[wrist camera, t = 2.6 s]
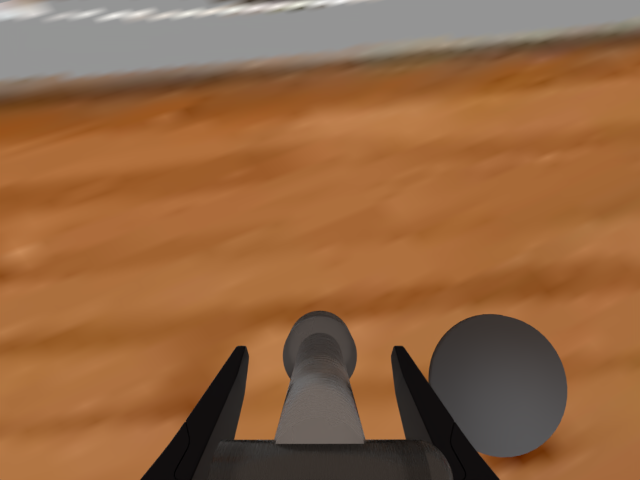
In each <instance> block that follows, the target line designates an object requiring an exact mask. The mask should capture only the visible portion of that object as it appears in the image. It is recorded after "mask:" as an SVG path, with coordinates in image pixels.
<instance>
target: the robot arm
mask: <svg viewBox="0 0 640 480" xmlns="http://www.w3.org/2000/svg"><path fill="white" fill-rule="evenodd" d="M248 364H249V354H248V350H247V347H246V346H237V347H236V348H235V349H234V351H233V352H232V354H231V355H230V356H229V358H228V359H227V361H226V362H225V364H224V365H223V367H222V368H221V370H220V371H219V372H218V374H217V375H216V377H215V378H214V380H213V381H212V383H211V384H210V386H209V387H208V388H207V390H206V391H205V393H204V394H203V396H202V397H201V399H200V400H199V402H198V403H197V404H196V406H195V407H194V409H193V410H192V412H191V413H190V415H189V416H188V418H187V419H186V422H184V423H183V425H182V426H181V428H180V429H179V431H178V432H177V433H176V435H175V436H174V438H173V439H172V440H171V442H170V443H169V444H168V446H167V447H166V448H165V449H164V451H163V452H162V453H161V455H160V456H159V457H158V458H157V459H156V461H155V462H154V463H153V464H152V466H151V467H150V468H149V469H148V470H147V472H146V473H145V474H144V475H143V477H142V478H141V479H140V480H208V475H209V470H210V466H211V462H212V459H213V455H214V452H215V450H216V448H217V446H218V444H219V442H220V441H221V440H234V438H235V434H236V430H237V425H238V421H239V417H240V413H241V408H242V404H243V400H244V395H245V388H246V380H247V372H248ZM391 364H392V372H393V380H394V388H395V395H396V400H397V404H398V408H399V413H400V417H401V421H402V425H403V430H404V434H405V438H406V439H417V440H424V441H427V442H429V443H431V444H432V445H434V446H435V447H437V448H438V449H439V450H440V451H441V452H442V454H443V455H444V456H445V457H446V459H447V461H448V463H449V465H450V467H451V470H452V473H453V478H454V480H500V479H499V478H498V477H497V475H496V474H495V473H494V472H493V470H492V469H491V468H490V467H489V466H488V464H487V463H486V462H485V461H484V459H483V458H482V457H481V456H480V455H479V453H478V452H477V451H476V449H475V448H474V447H473V446H472V444H471V443H470V442H469V440H468V439H467V438H466V436H465V435H464V433H463V432H462V431H461V429H460V428H459V426H458V425H457V423H456V422H454V419H453V418H452V416H451V415H450V413H449V412H448V410H447V409H446V407H445V406H444V404H443V403H442V402H441V400H440V399H439V397H438V396H437V394H436V393H435V391H434V390H433V388H432V387H431V386H430V384H429V383H428V381H427V380H426V378H425V377H424V375H423V374H422V372H421V371H420V370H419V368H418V367H417V365H416V364H415V362H414V361H413V359H412V358H411V356H410V355H409V353H408V352H407V351H406V349H405V348H404V347H403V346H394V347H393V350H392V354H391Z"/></svg>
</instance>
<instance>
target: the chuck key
mask: <svg viewBox="0 0 640 480" xmlns="http://www.w3.org/2000/svg"><path fill="white" fill-rule="evenodd" d="M356 362H357V350H356V345H355V342H354V340H353V338H352V335H351V333H350V331H349V329H348V327H347V326H346V324H345V323H344V322H343V320H342V319H340V318H339V317H338V316H337V315H335V314H333V313H330V312H327V311H312V312H309V313H307V314H305V315H303V316H302V317H300V318H299V319H298V320H297V321H296V323H295V324H294V325H293V327H292V329H291V331H290V333H289V335H288V337H287V339H286V341H285V344H284V348H283V363H284V367H285V371H286V373H287V375H288V376H289V378H290V383H289V387H288V390H287V394H286V398H285V401H284V405H283V409H282V412H281V416H280V420H279V423H278V427H277V431H276V434H275V438H274V440H221V441H220V442H219V444H218V446H217V448H216V450H215V452H214V455H213V459H212V462H211V466H210V470H209V475H208V480H454V478H453V473H452V470H451V467H450V465H449V463H448V461H447V459H446V457H445V456H444V455H443V454H442V452H441V451H440V450H439V449H438V448H437V447H435V446H434V445H432V444H431V443H429V442H427V441H424V440H417V439H365V436H364V432H363V428H362V425H361V421H360V417H359V414H358V410H357V406H356V403H355V399H354V395H353V392H352V388H351V384H350V381H349V379H350V378H351V376H352V374H353V372H354V370H355V367H356Z"/></svg>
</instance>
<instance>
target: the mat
mask: <svg viewBox="0 0 640 480" xmlns="http://www.w3.org/2000/svg"><path fill="white" fill-rule="evenodd" d="M428 381H429V384H430V386H431V387H432V388H433V390H434V391H435V393H436V394H437V396H438V397H439V399H440V400H441V402H442V403H443V404H444V406H445V407H446V409H447V410H448V412H449V413H450V415H451V416H452V418H453V419H454V422H456V423H457V425H458V426H459V428H460V429H461V431H462V432H463V433H464V435H465V436H466V438H467V439H468V440H469V442H470V443H471V444H472V446H473V447H474V448H475V449H476V451H477V452H480V453H482V454H486V455H490V456H495V457H514V456H519V455H523V454H526V453H528V452H530V451H532V450H534V449H536V448H538V447H539V446H541V445H542V444H543V443H545V442H546V441H547V440H548V439H549V438H550V437H551V435H552V434H553V433H554V432H555V430H556V429H557V427H558V425H559V424H560V422H561V419H562V417H563V415H564V411H565V407H566V402H567V380H566V375H565V371H564V367H563V365H562V362H561V359H560V357H559V356H558V354H557V352H556V350H555V349H554V347H553V346H552V344H551V343H550V342H549V341H548V340H547V339H546V337H545V336H544V335H542V334H541V333H540V332H539V331H538V330H536V329H535V328H534V327H532V326H531V325H529V324H527V323H525V322H523V321H521V320H518V319H515V318H512V317H508V316H503V315H498V314H482V315H476V316H472V317H469V318H466V319H464V320H462V321H460V322H459V323H457V324H456V325H454V326H453V327H452V328H450V329H449V330H448V331H447V332H446V333H445V334H444V335H443V337H442V338H441V339H440V341H439V342H438V344H437V346H436V348H435V350H434V352H433V355H432V358H431V361H430V366H429V376H428Z"/></svg>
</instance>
